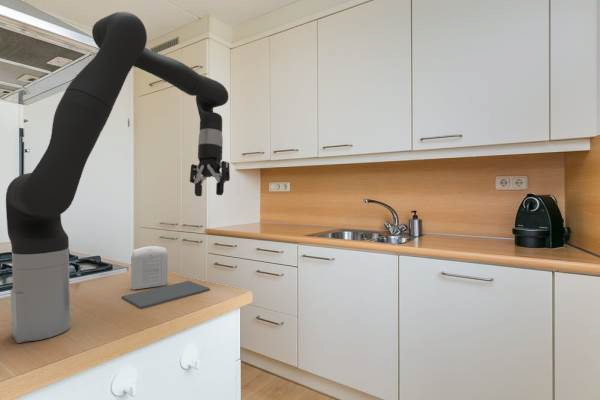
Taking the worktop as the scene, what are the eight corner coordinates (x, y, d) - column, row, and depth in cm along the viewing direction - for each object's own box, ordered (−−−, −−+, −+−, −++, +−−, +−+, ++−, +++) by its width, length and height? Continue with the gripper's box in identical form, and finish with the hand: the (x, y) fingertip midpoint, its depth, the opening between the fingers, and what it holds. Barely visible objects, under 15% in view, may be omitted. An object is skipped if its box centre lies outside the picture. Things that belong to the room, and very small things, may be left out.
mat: (140, 309, 81) (140, 306, 81) (121, 298, 89) (121, 296, 89) (210, 290, 96) (210, 288, 96) (188, 282, 104) (188, 280, 104)
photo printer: (166, 282, 104) (165, 243, 104) (169, 285, 101) (168, 245, 100) (130, 287, 99) (129, 247, 98) (132, 291, 95) (131, 249, 95)
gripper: (185, 145, 104) (183, 195, 103) (220, 139, 98) (218, 193, 97) (201, 150, 111) (200, 197, 110) (235, 145, 105) (234, 195, 103)
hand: (208, 195), depth 103 cm, fingers open, 8 cm apart
